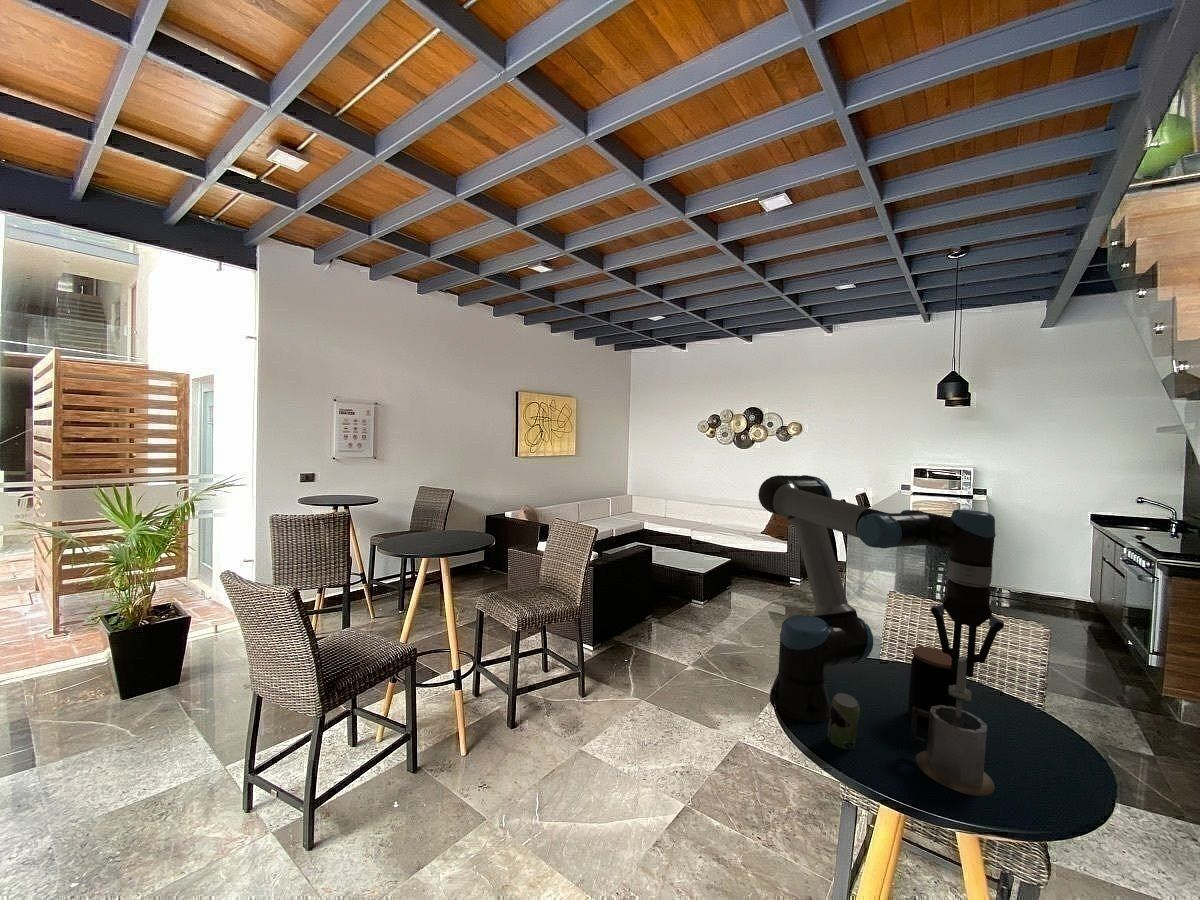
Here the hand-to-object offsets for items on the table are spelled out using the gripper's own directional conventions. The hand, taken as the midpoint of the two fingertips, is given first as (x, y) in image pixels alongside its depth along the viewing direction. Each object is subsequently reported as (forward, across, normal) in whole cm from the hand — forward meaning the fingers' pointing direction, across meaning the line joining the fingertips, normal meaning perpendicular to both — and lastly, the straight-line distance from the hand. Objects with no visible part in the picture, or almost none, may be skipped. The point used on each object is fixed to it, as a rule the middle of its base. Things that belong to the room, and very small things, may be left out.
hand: (960, 688), depth 106 cm
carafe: (+19, -2, 0) cm, 19 cm away
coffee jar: (+19, -6, +20) cm, 29 cm away
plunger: (+13, 0, 0) cm, 13 cm away
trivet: (+19, 0, 0) cm, 19 cm away
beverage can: (+19, -21, -7) cm, 29 cm away
